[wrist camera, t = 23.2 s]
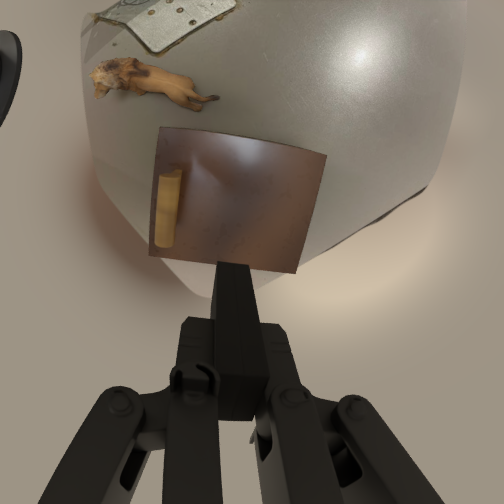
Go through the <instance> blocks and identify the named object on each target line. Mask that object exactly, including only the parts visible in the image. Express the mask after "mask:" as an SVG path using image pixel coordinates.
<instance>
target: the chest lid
mask: <svg viewBox="0 0 504 504" xmlns="http://www.w3.org/2000/svg"><path fill="white" fill-rule="evenodd" d="M326 158H327V155H324V154H321V153H317V152H313V151H309V150H305V149H300V148H296V147H292V146H287V145H283V144H278V143H273V142H268V141H263V140H258V139H252V138H247V137H241V136H235V135H228V134H222V133H215V132H207V131H199V130H190V129H181V128H170V127H160V128H159V134H158V141H157V149H156V157H155V165H154V175H153V185H152V197H151V211H150V230H149V256H154V257H161V258H169V259H176V260H184V261H192V262H199V263H207V264H215V265H217V261H222V262H230V263H238V264H247V265H249V268H250V269H256V270H264V271H273V272H282V273H291V274H296V271H297V267H298V264H299V260H300V257H301V253H302V250H303V246H304V243H305V239H306V236H307V232H308V229H309V225H310V221H311V217H312V214H313V210H314V206H315V202H316V198H317V194H318V191H319V187H320V183H321V179H322V174H323V170H324V166H325V162H326Z"/></svg>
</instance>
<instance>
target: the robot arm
mask: <svg viewBox="0 0 504 504" xmlns="http://www.w3.org/2000/svg"><path fill="white" fill-rule="evenodd" d="M1 75H2V59H1V56H0V81H1ZM254 415H255V419H256V427H255V429H254V431H253V433H252V436H251V438H250V444H252V443H253V442H255V450H256V457H257V466H258V473H259V480H260V487H261V494H262V502H263V504H445V503H444V502H443V501H442V499H441V498H440V496H439V495H438V494H437V492H436V491H435V490H434V488H433V487H432V485H431V484H430V483H429V481H428V480H427V479H426V477H425V476H424V475H423V473H422V472H421V470H420V469H419V468H418V466H417V465H416V464H415V462H414V461H413V460H412V458H411V457H410V456H409V454H408V453H407V451H406V450H405V449H404V447H403V446H402V445H401V443H400V442H399V441H398V439H397V438H396V437H395V435H394V434H393V433H392V431H391V430H390V429H389V427H388V426H387V424H386V423H385V422H384V420H383V419H382V418H381V416H380V415H379V414H378V412H377V411H376V410H375V408H374V407H373V406H372V404H371V403H370V402H369V401H368V400H367V399H365V398H363V397H361V396H359V395H347V396H345V397H343V398H342V399H341V400H340V401H339V402H335V401H330V400H325V399H320V398H317V397H315V396H313V395H312V394H311V393H310V391H309V390H308V389H307V388H306V387H304V386H303V385H302V384H301V382H300V379H299V375H298V372H297V369H296V365H295V362H294V358H293V355H292V353H291V348H290V345H289V341H288V338H287V334H286V332H285V331H284V330H283V329H282V328H281V326H280V325H279V324H272V323H260V320H259V315H258V310H257V305H256V299H255V294H254V289H253V284H252V278H251V273H250V268H249V265H247V264H238V263H230V262H222V261H217V266H216V273H215V280H214V288H213V295H212V303H211V316H210V319H206V318H197V317H188V318H187V319H186V320H185V321H184V322H183V323H182V325H181V331H180V338H179V345H178V351H177V358H176V366H174V367H173V368H172V370H171V373H170V385H169V386H168V387H167V388H165V389H164V390H162V391H159V392H155V393H149V394H140V395H139V394H138V393H137V392H136V391H134V390H132V389H131V388H128V387H124V386H116V387H111V388H109V389H106V390H105V391H104V392H103V393H102V394H101V395H100V396H99V398H98V400H97V401H96V403H95V404H94V406H93V407H92V409H91V411H90V412H89V414H88V416H87V417H86V419H85V421H84V422H83V424H82V425H81V427H80V429H79V430H78V432H77V434H76V435H75V437H74V439H73V440H72V442H71V444H70V445H69V447H68V449H67V451H66V452H65V454H64V456H63V458H62V459H61V461H60V463H59V465H58V467H57V468H56V470H55V472H54V474H53V476H52V477H51V479H50V481H49V483H48V485H47V487H46V489H45V490H44V492H43V494H42V496H41V498H40V500H39V502H38V504H130V501H131V499H132V497H133V494H134V492H135V489H136V487H137V484H138V482H139V480H140V477H141V475H142V472H143V470H144V468H145V465H146V463H147V460H148V458H149V455H150V453H151V451H153V450H161V449H165V454H164V469H163V470H164V471H163V491H162V504H223V497H222V484H221V483H222V482H221V466H220V448H219V426H218V420H223V421H252V420H253V418H254Z"/></svg>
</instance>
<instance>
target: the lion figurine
mask: <svg viewBox="0 0 504 504" xmlns="http://www.w3.org/2000/svg"><path fill="white" fill-rule="evenodd" d="M89 76H90V77H91V78H92V79H93V80H94V81H95V82H94V86H95V88H96V90H95V94H94V96H95V98H96V99H99V98H103V97H104V96H105V95H106V94H107V93H108V92H109V90H110V89H115V90H118V89H122V90H132V91H135V92H137V94H138V95H139V96H140V95H143V94H144V93H146V91H150V92H157V93H166V94H167V95H168V96H169V98H170V99H171V100H172V101H174V102H176V103H177V104H179V105H181V106H185V107H189V108H192V109H193V110H194V111H196V112H199V111H201V109H202V107H203V106H202V105H201V104H199V103H192V102H191V101H190V100H189V97H190V98H193V99H196V100H198V101H201V102H205V101H209V100H213V101H214V100H218V99H219V98H220V96H214V95H211V96H209V97H205V98H204V97H201V96H199V95H198V94H196V93H195V92H194V91H192V90H193V88H194V87H195V85H194V83H193V82H192V80H191V79H190V78H189V77H185V76H180V75H175V74H171V73H169V72H167V71H164V70H162V69H160V68H158V67H155V66H151V65H144V64H143V63H141V62H139V61H138V60H137V59H136V58H131V57H128V58H120V59H118V58H115V59H112V60H110V61H109V60H107V61H105V62H101V63H100V65H98V66H97V67H96V68H95V69H94V71H93V72H92V73H91V74H89Z"/></svg>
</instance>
